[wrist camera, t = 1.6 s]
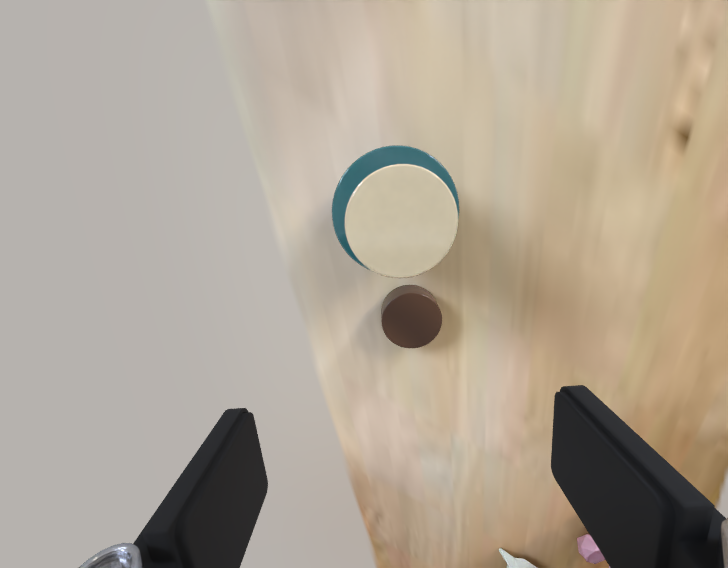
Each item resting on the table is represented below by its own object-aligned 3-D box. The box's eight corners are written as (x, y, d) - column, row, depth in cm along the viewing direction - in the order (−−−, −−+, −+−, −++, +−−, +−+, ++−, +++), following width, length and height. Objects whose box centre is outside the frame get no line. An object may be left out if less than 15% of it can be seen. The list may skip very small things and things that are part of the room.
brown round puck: (408, 273, 30) (410, 280, 28) (449, 309, 31) (454, 319, 29) (369, 313, 31) (369, 323, 29) (410, 346, 32) (412, 359, 30)
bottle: (386, 139, 27) (396, 88, 13) (449, 199, 28) (524, 216, 14) (329, 207, 29) (282, 231, 14) (391, 261, 30) (405, 334, 16)
